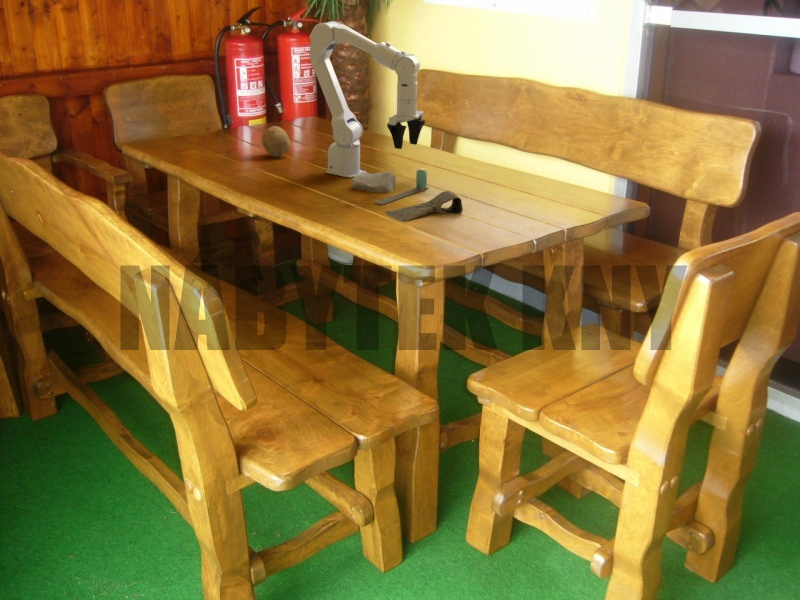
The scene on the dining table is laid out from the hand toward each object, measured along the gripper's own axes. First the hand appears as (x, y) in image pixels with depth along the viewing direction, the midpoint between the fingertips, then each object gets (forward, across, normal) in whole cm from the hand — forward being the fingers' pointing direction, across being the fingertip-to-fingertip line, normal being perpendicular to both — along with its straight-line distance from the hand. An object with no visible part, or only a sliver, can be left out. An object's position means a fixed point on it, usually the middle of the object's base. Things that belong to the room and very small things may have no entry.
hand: (405, 146), depth 241 cm
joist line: (+10, -15, -10) cm, 21 cm away
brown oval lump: (+10, -4, +49) cm, 50 cm away
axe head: (+11, -25, -24) cm, 37 cm away
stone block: (+10, -14, +2) cm, 17 cm away
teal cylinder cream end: (+10, -6, -10) cm, 15 cm away
